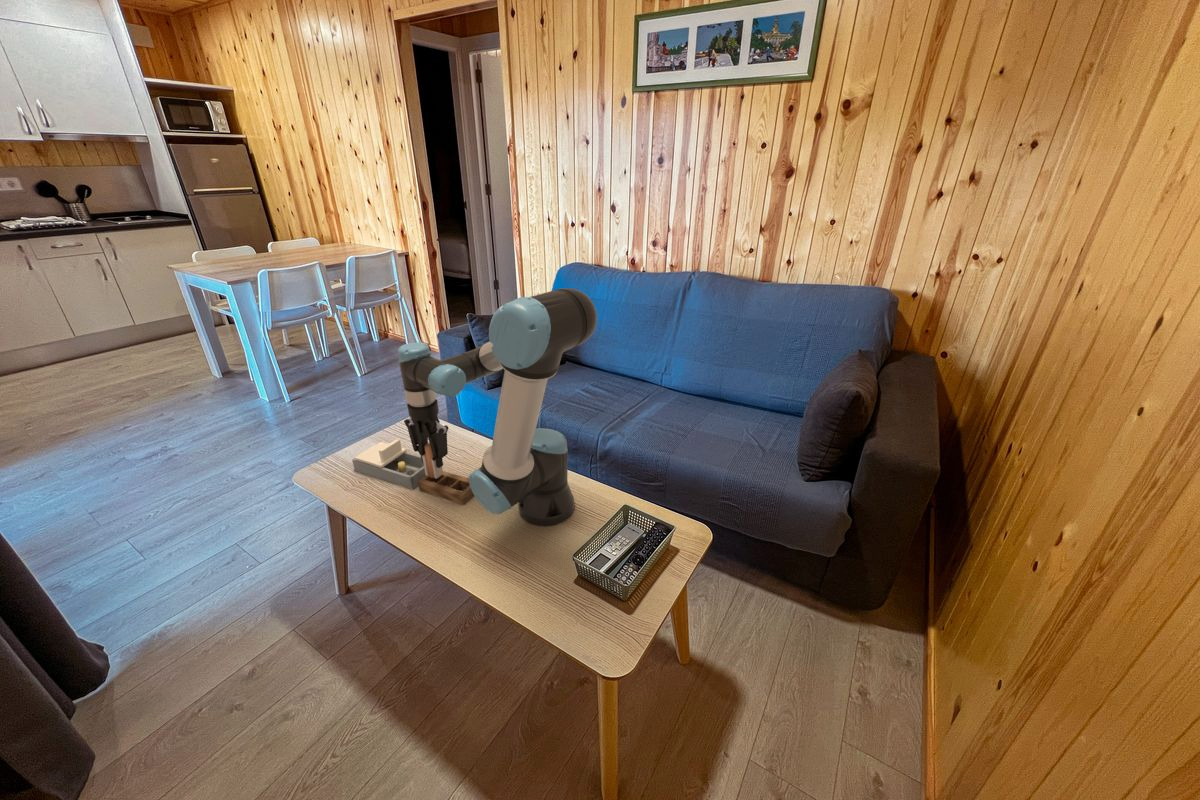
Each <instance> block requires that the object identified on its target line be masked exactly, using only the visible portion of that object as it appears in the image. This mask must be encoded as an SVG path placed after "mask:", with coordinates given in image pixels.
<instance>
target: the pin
mask: <svg viewBox="0 0 1200 800" xmlns="http://www.w3.org/2000/svg"><path fill="white" fill-rule="evenodd" d="M425 452H426V458H427V464H428V470H429V476H430V477H431V478H435V477H434V471H433V465H432V460H431V459H432V458H433V454H432V450H431V446H430V443H429V442H428V443H427V444H425Z"/></svg>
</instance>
